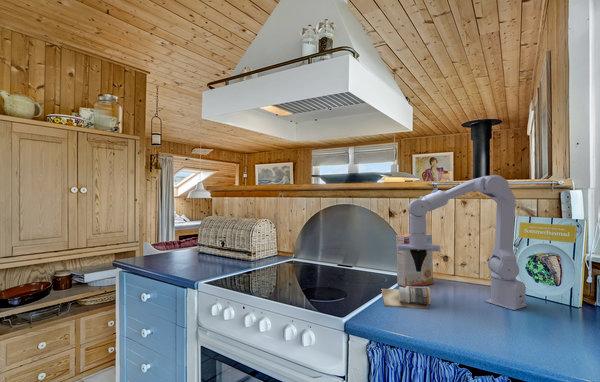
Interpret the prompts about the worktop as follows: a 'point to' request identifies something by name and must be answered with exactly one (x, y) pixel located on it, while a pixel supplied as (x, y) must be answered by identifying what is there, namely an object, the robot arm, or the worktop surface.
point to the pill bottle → (415, 294)
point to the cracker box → (413, 265)
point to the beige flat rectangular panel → (397, 300)
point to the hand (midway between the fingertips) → (418, 271)
